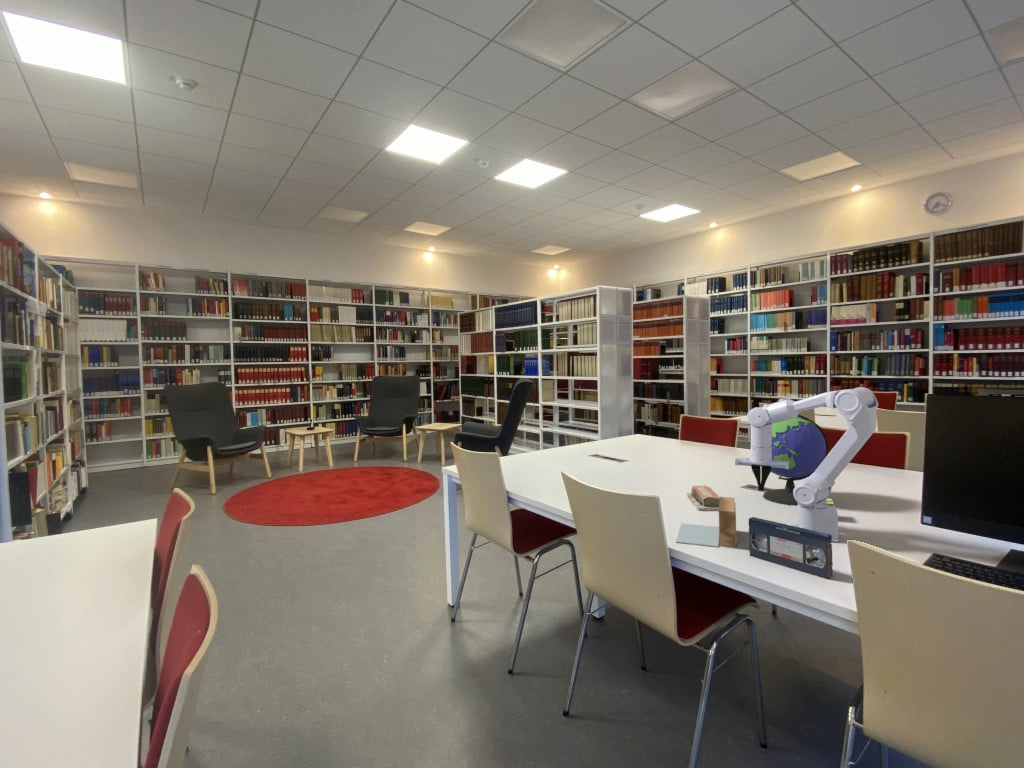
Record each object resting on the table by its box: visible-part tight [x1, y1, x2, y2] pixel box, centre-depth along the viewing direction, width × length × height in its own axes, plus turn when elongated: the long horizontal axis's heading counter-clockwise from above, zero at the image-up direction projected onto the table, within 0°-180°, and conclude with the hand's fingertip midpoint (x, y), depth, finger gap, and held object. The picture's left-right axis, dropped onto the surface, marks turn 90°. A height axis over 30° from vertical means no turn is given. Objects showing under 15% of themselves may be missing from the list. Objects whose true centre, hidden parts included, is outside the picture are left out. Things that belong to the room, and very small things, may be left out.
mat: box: [675, 522, 720, 548], centre depth 138 cm, size 11×16×1 cm
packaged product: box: [686, 485, 721, 512], centre depth 168 cm, size 18×5×10 cm
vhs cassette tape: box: [748, 516, 834, 580], centre depth 116 cm, size 18×3×10 cm, turn 35°
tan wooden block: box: [718, 496, 737, 549], centre depth 135 cm, size 4×14×10 cm, turn 155°
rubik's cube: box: [827, 498, 835, 506], centre depth 148 cm, size 6×6×6 cm
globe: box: [762, 414, 830, 507], centre depth 169 cm, size 22×22×30 cm
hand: (760, 489), depth 145 cm, fingers closed
